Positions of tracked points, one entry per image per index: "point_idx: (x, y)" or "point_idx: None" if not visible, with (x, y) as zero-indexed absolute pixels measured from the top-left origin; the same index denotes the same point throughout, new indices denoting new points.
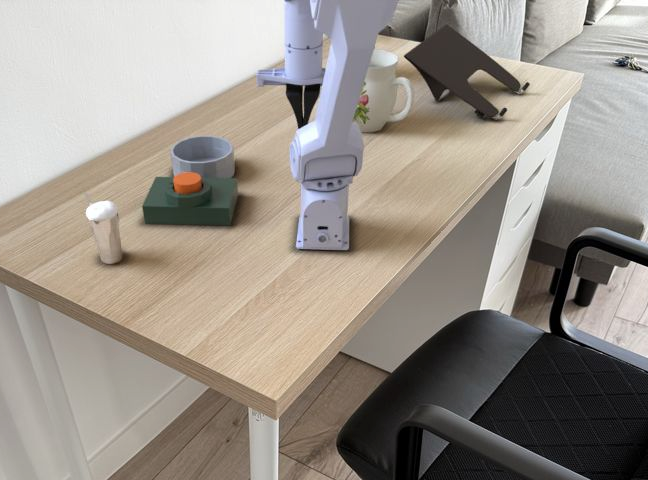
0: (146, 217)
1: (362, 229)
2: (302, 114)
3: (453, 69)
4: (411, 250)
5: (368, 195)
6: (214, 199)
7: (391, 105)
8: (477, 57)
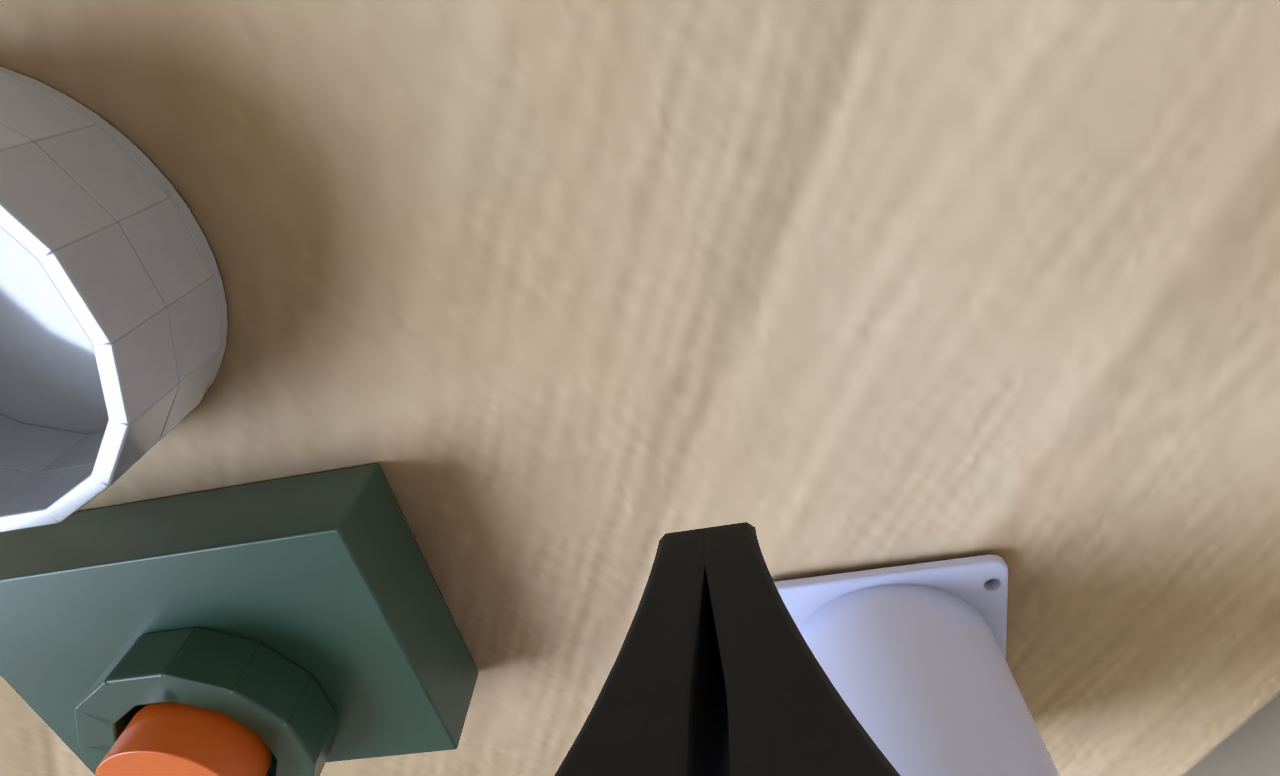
0: None
1: (1065, 603)
2: (712, 702)
3: None
4: (1269, 688)
5: (1134, 304)
6: (354, 707)
7: None
8: None
